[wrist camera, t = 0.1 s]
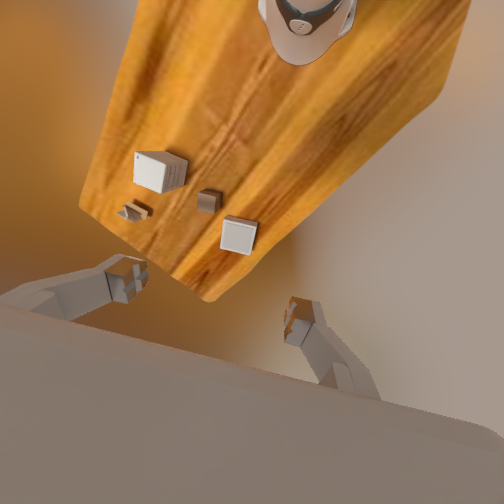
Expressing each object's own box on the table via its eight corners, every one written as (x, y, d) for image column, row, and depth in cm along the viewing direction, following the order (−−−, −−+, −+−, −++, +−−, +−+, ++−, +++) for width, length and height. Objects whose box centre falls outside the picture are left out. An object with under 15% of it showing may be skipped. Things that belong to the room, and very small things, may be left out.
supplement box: (161, 176, 56) (131, 182, 45) (164, 150, 52) (133, 149, 41) (184, 186, 56) (161, 195, 45) (189, 161, 53) (165, 163, 42)
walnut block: (205, 188, 56) (197, 192, 51) (221, 192, 56) (215, 196, 51) (204, 204, 58) (196, 210, 53) (220, 208, 58) (214, 214, 53)
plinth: (227, 215, 59) (223, 219, 55) (258, 222, 59) (256, 227, 55) (223, 242, 64) (219, 248, 60) (251, 249, 64) (250, 256, 60)
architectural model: (134, 197, 61) (117, 203, 54) (154, 208, 62) (139, 215, 55) (132, 206, 62) (115, 213, 56) (151, 217, 63) (137, 225, 57)
